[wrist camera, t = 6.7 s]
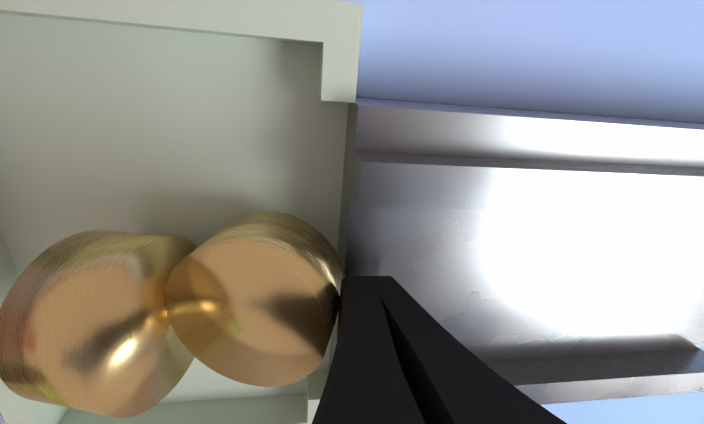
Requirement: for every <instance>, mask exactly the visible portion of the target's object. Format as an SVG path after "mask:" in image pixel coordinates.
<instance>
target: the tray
mask: <svg viewBox="0 0 704 424" xmlns="http://www.w3.org/2000/svg"><path fill="white" fill-rule="evenodd" d="M362 15H363V3H355V2H347V1H339V0H0V308H1V306H2V303H3V301H4V299H5V297H6V295H7V294H8V292H9V290H10V288H11V287H12V285H13V284H14V282H15V281H16V279H17V278H18V277H19V275H20V274H21V273H22V272H23V271H24V270H25V268H26V267H27V266H28V265H29V264H30V263H31V262H32V261H33V260H34V259H35V258H36V257H37V256H38V255H40V254H41V253H42V252H44V251H45V250H46V249H48V248H49V247H50V246H52V245H54V244H55V243H57V242H59V241H60V240H62V239H65V238H67V237H69V236H71V235H74V234H77V233H80V232H84V231H90V230H113V231H123V232H134V233H144V234H154V235H164V236H174V237H182V238H185V239H188V240H189V241H191V242H193V243H194V244H195V245H196V246H198V247H199V246H200V245H201V244H203V243H204V242H205V241H206V240H208V239H209V238H210V237H212V236H213V235H214V234H215V233H217V232H218V231H219V230H220V229H222V228H223V227H224V226H225V225H227V224H228V223H229V222H231V221H232V220H234V219H235V218H237V217H239V216H241V215H244V214H247V213H250V212H256V211H274V212H281V213H285V214H289V215H291V216H294V217H297V218H299V219H301V220H303V221H305V222H307V223H308V224H310V225H311V226H313V227H314V228H316V229H317V230H318V231H319V232H320V233H322V234H323V235H324V236H325V238H326V239H327V240H328V241H329V242H330V243H331V245H332V246H333V247H334V249H335V250H336V252H337V249H338V236H339V222H340V209H341V195H342V182H343V168H344V155H345V141H346V128H347V114H348V102H350V103H355V100H356V88H357V76H358V64H359V51H360V39H361V27H362ZM330 344H331V337H330V340H329V343H328V346H327V349H326V352H325V355H324V357H323V359H322V361H321V363H320V364H319V366H318V367H317V368H316V369H315V370H314V371H313V372H312V373H311V374H310V375H308V376H307V377H305V378H304V379H302V380H300V381H298V382H295V383H293V384H289V385H285V386H278V387H260V386H253V385H248V384H244V383H240V382H237V381H234V380H232V379H229V378H227V377H225V376H223V375H221V374H218V373H217V372H215V371H213V370H212V369H210V368H209V367H207V366H206V365H204V364H203V363H202V362H200V361H199V360H198V359H197V358H196V357H195V358H194V360H193V361H192V363H191V365H190V367H189V368H188V370H187V371H186V373H185V374H184V376H183V377H182V379H181V380H180V381H179V382H178V384H177V385H176V386H175V387H174V388H173V390H172V391H171V392H170V393H169V394H168V395H167V396H166V397H165V398H164V399H162V400H161V401H160V402H159V403H157V404H156V405H155V406H153V407H152V408H150V409H149V410H147V411H145V412H143V413H141V414H138V415H136V416H132V417H127V418H117V417H112V416H107V415H102V414H97V413H92V412H87V411H82V410H77V409H72V408H67V407H62V406H57V405H52V404H47V403H42V402H37V401H33V400H28V399H25V398H23V397H21V396H19V395H17V394H15V393H14V392H13V391H11V390H10V389H9V388H8V387H7V386H6V385H5V384H4V382H3V381H2V380H1V378H0V413H1V415H2V417H3V419H4V421H5V423H6V424H312V421H313V418H314V416H315V413H316V410H317V407H318V405H319V402H320V399H321V396H322V393H323V390H324V387H325V384H326V381H327V377H328V374H329V357H330Z"/></svg>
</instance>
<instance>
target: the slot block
mask: <svg viewBox="0 0 704 424" xmlns="http://www.w3.org/2000/svg"><path fill="white" fill-rule="evenodd" d="M337 254H338V256H339V257H340V260H341V262H342V265H343V268H344V272H345V277H346V276H392V277H393V278H394V279H395V280H396V281H397V282H398V283H399V284H400V285H401V286H402V287H403V288H404V289H405V290H406V291H407V292H408V293H409V294H410V295H411V296H412V297H413V298H414V299H415V300H416V301H417V302H418V303H419V304H420V305H421V306H422V307H423V308H424V309H425V310H426V311H427V312H428V313H429V314H430V315H431V316H432V317H433V318H434V319H435V320H436V321H437V322H438V323H439V324H440V325H441V326H442V327H443V328H445V329H446V330H447V331H448V332H449V333H450V334H451V335H452V336H453V337H454V338H456V339H457V340H458V341H459V342H460V343H461V344H462V345H463V346H465V347H466V348H467V349H468V350H469V351H471V352H472V353H473V354H474V355H475V356H476V357H478V358H479V359H480V360H481V361H482V362H484V363H485V364H486V365H487V366H488V367H490V368H491V369H492V370H493V371H495V372H496V373H497V374H499V375H500V376H501V377H502V378H504V379H505V380H506V381H508V382H509V383H510V384H512V385H513V386H515V387H516V388H517V389H519V390H520V391H521V392H523V393H524V394H525V395H527V396H528V397H529V398H531V399H532V400H533V401H535V402H536V403H538V404H539V405H541V404H553V403H566V402H578V401H591V400H603V399H615V398H628V397H640V396H652V395H665V394H677V393H690V392H702V391H704V351H702V350H701V349H700V348H701V347H702V345H703V344H704V124H702V123H689V122H676V121H662V120H649V119H635V118H622V117H609V116H595V115H582V114H569V113H555V112H542V111H529V110H515V109H502V108H489V107H475V106H462V105H448V104H435V103H422V102H408V101H395V100H382V99H368V98H356V100H355V103H350V102H348V114H347V128H346V141H345V155H344V168H343V182H342V195H341V209H340V222H339V236H338V249H337ZM338 314H339V313H338ZM337 326H338V316H337V319H336V322H335V325H334V328H333V331H332V334H331V344H330V357H329V371H330V367H331V364H332V360H333V356H334V352H335V348H336V344H337Z"/></svg>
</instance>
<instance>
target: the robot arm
mask: <svg viewBox="0 0 704 424" xmlns="http://www.w3.org/2000/svg"><path fill="white" fill-rule="evenodd" d="M312 424H567V423H565V422H564V421H562V420H561V419H559V418H558V417H556V416H555V415H553V414H552V413H551V412H549V411H548V410H546V409H545V408H543V407H542V406H540V405H539V404H538V403H536V402H535V401H533V400H532V399H531V398H529V397H528V396H527V395H525V394H524V393H523V392H521V391H520V390H519V389H517V388H516V387H515V386H513V385H512V384H510V383H509V382H508V381H506V380H505V379H504V378H502V377H501V376H500V375H499V374H497V373H496V372H495V371H493V370H492V369H491V368H490V367H488V366H487V365H486V364H485V363H484V362H482V361H481V360H480V359H479V358H478V357H476V356H475V355H474V354H473V353H472V352H471V351H469V350H468V349H467V348H466V347H465V346H463V345H462V344H461V343H460V342H459V341H458V340H457V339H456V338H454V337H453V336H452V335H451V334H450V333H449V332H448V331H447V330H446V329H445V328H443V327H442V326H441V325H440V324H439V323H438V322H437V321H436V320H435V319H434V318H433V317H432V316H431V315H430V314H429V313H428V312H427V311H426V310H425V309H424V308H423V307H422V306H421V305H420V304H419V303H418V302H417V301H416V300H415V299H414V298H413V297H412V296H411V295H410V294H409V293H408V292H407V291H406V290H405V289H404V288H403V287H402V286H401V285H400V284H399V283H398V282H397V281H396V280H395V279H394V278H393V277H392V276H346V277H345V278H343V279H342V280H341V290H340V305H339V314H338V326H337V344H336V348H335V352H334V356H333V360H332V364H331V367H330V371H329V374H328V377H327V381H326V384H325V387H324V390H323V393H322V396H321V399H320V402H319V405H318V407H317V410H316V413H315V416H314V418H313V421H312Z"/></svg>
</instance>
